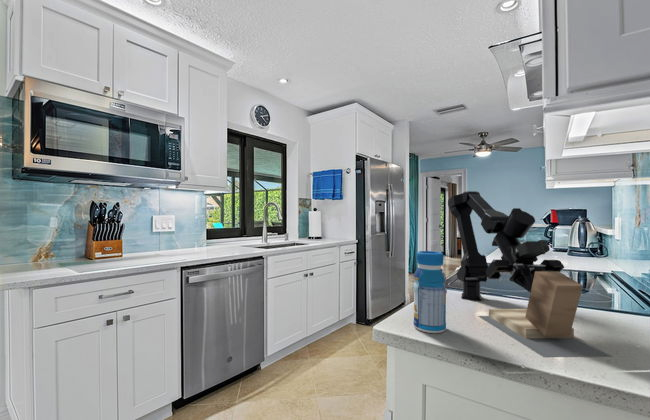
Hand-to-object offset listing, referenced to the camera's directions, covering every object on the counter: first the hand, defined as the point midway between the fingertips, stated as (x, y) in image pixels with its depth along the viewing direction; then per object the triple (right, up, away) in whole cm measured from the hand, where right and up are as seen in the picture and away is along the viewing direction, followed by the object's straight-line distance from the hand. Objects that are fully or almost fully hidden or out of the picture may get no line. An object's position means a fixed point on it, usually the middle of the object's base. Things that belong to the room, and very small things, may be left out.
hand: (540, 297), depth 77 cm
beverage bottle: (-27, -9, +3) cm, 29 cm away
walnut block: (0, -7, -2) cm, 7 cm away
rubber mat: (-2, -9, 0) cm, 9 cm away
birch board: (0, -9, +4) cm, 10 cm away
